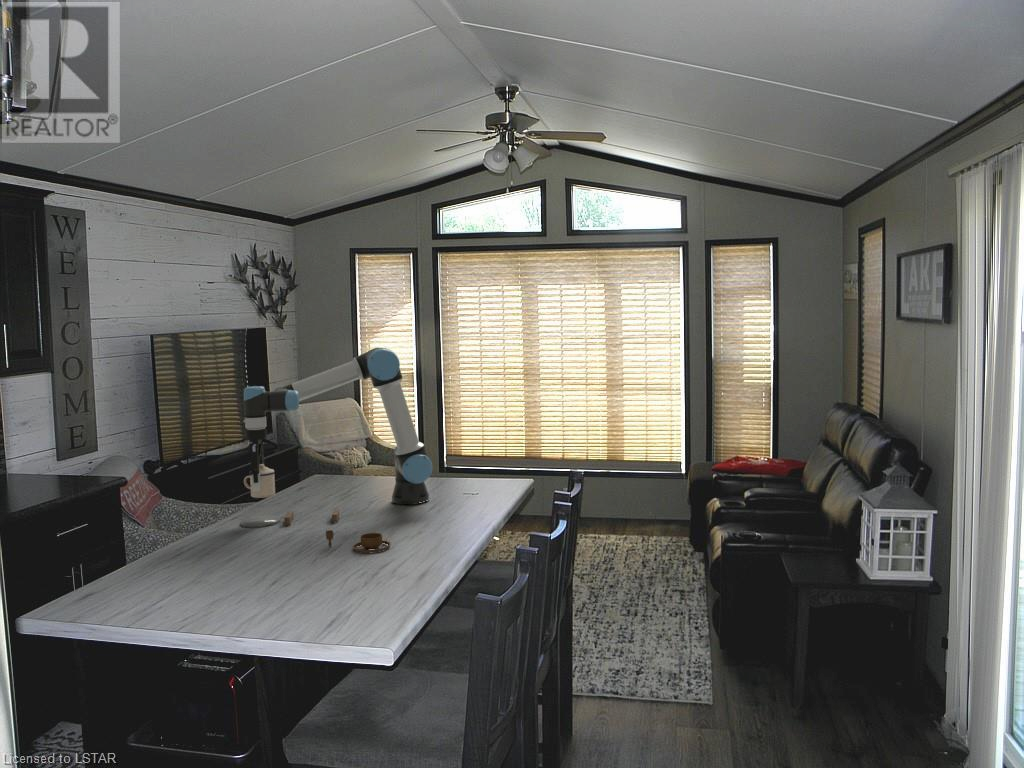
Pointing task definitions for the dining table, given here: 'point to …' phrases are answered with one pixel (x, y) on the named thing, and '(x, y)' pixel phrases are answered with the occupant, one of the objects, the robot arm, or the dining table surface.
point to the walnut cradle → (289, 516)
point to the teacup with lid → (263, 483)
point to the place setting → (364, 542)
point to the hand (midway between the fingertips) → (258, 488)
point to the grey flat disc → (260, 521)
